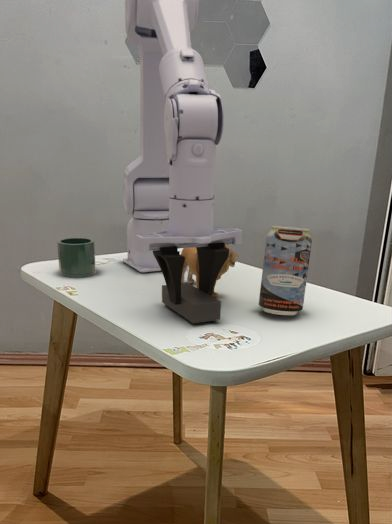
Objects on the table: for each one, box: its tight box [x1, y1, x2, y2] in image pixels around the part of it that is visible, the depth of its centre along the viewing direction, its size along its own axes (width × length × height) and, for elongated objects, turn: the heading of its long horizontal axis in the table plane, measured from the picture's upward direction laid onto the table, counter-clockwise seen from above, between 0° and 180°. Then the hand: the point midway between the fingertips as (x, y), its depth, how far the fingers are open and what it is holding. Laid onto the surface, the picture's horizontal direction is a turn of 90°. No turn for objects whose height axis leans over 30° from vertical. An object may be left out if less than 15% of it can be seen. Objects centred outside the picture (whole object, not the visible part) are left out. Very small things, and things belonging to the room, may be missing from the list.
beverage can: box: [258, 225, 313, 316], centre depth 76 cm, size 6×7×12 cm
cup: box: [56, 237, 97, 278], centre depth 96 cm, size 6×6×6 cm
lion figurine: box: [180, 244, 240, 298], centre depth 86 cm, size 15×5×9 cm, turn 35°
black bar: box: [161, 282, 222, 324], centre depth 77 cm, size 10×4×2 cm, turn 27°
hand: (189, 300), depth 77 cm, fingers closed on black bar, 4 cm apart
